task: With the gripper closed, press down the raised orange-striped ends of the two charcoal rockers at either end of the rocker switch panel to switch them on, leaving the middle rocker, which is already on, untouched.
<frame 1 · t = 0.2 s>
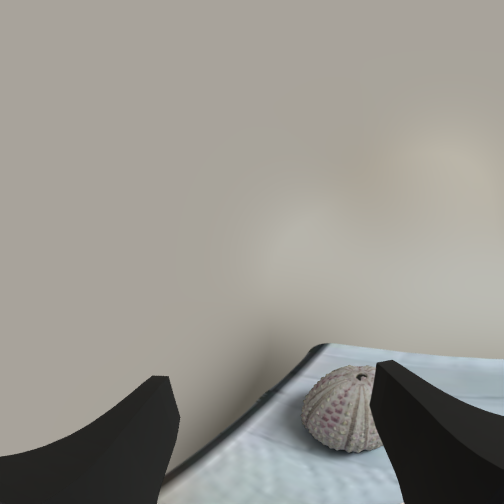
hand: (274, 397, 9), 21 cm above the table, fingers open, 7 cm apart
sea urchin shell: (352, 425, 32), on the table
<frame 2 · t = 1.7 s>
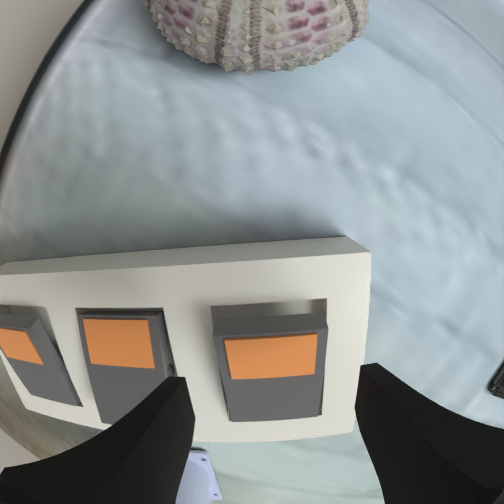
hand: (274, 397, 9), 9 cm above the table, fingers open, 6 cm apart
sea urchin shell: (259, 3, 14), on the table
rocker 2: (33, 360, 15), point 5 cm above the table, hinge at -12.0°
rocker switch panel: (153, 336, 19), on the table
rocker middle: (129, 372, 15), point 5 cm above the table, hinge at 12.0°
rocker 1: (272, 374, 15), point 5 cm above the table, hinge at -12.0°
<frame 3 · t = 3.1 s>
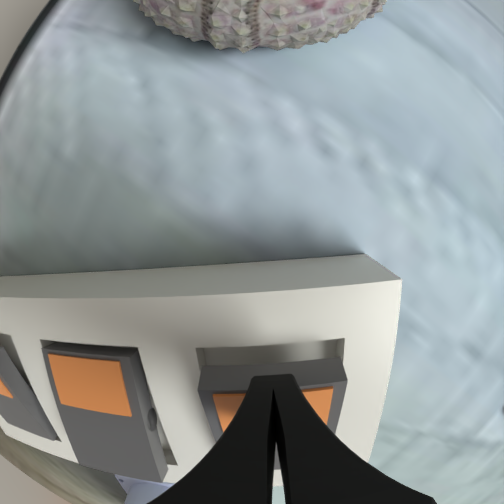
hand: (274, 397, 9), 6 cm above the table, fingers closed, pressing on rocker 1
rocker 2: (5, 390, 12), point 5 cm above the table, hinge at -12.0°
rocker switch panel: (135, 367, 16), on the table
rocker middle: (104, 415, 11), point 5 cm above the table, hinge at 12.0°
rocker 1: (274, 425, 11), point 5 cm above the table, hinge at -11.8°, touching gripper
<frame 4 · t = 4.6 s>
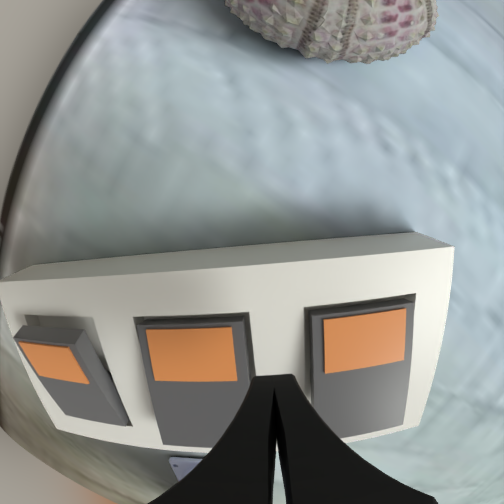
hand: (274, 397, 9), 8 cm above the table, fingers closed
rocker 2: (72, 378, 14), point 5 cm above the table, hinge at -12.0°
rocker switch panel: (212, 342, 18), on the table
rocker middle: (200, 387, 14), point 5 cm above the table, hinge at 12.0°
rocker 1: (360, 373, 13), point 5 cm above the table, hinge at 11.4°
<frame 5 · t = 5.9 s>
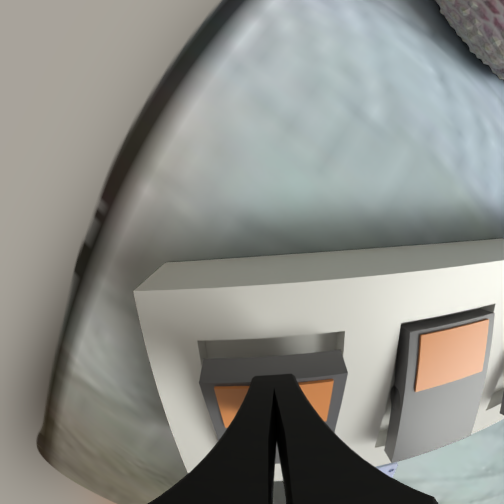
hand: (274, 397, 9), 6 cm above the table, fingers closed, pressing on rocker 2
sea urchin shell: (482, 18, 11), on the table
rocker 2: (275, 419, 11), point 5 cm above the table, hinge at -12.0°, touching gripper
rocker switch panel: (405, 344, 15), on the table
rocker middle: (441, 388, 11), point 5 cm above the table, hinge at 12.0°
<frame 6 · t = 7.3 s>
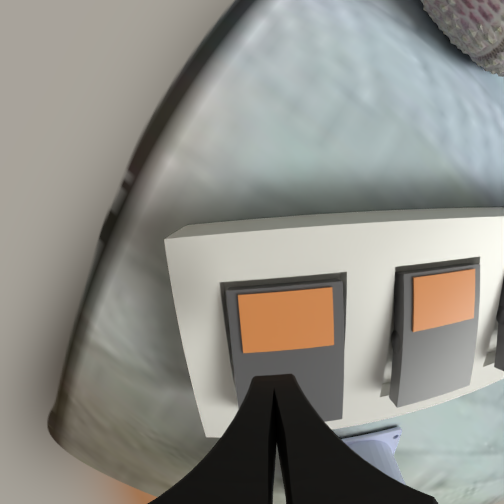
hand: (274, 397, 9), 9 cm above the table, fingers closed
sea urchin shell: (464, 13, 12), on the table
rocker 2: (288, 357, 13), point 5 cm above the table, hinge at 12.1°
rocker switch panel: (403, 302, 17), on the table
rocker middle: (437, 334, 13), point 5 cm above the table, hinge at 12.0°
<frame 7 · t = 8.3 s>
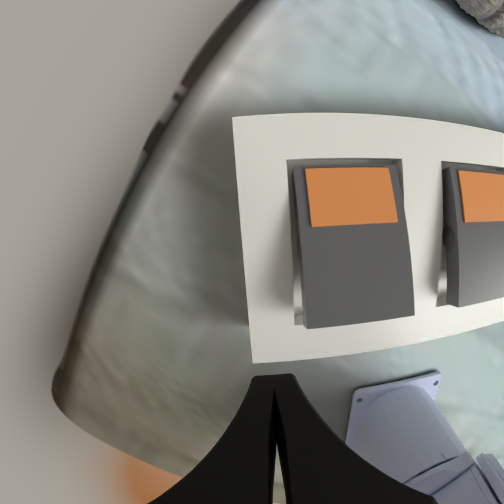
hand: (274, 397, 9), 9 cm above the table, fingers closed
rocker 2: (353, 243, 13), point 5 cm above the table, hinge at 20.0°, touching rocker switch panel
rocker switch panel: (441, 223, 17), on the table
rocker middle: (482, 235, 13), point 5 cm above the table, hinge at 12.0°
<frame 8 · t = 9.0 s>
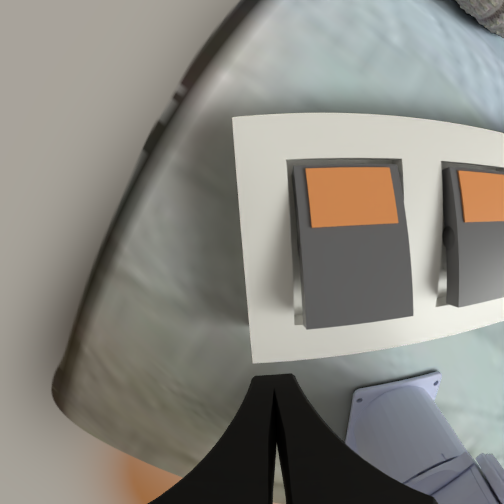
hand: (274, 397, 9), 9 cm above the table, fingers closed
rocker 2: (353, 243, 13), point 5 cm above the table, hinge at 17.7°
rocker switch panel: (441, 223, 17), on the table
rocker middle: (482, 235, 13), point 5 cm above the table, hinge at 12.0°
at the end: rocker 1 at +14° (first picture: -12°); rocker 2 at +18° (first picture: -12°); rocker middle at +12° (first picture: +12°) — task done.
